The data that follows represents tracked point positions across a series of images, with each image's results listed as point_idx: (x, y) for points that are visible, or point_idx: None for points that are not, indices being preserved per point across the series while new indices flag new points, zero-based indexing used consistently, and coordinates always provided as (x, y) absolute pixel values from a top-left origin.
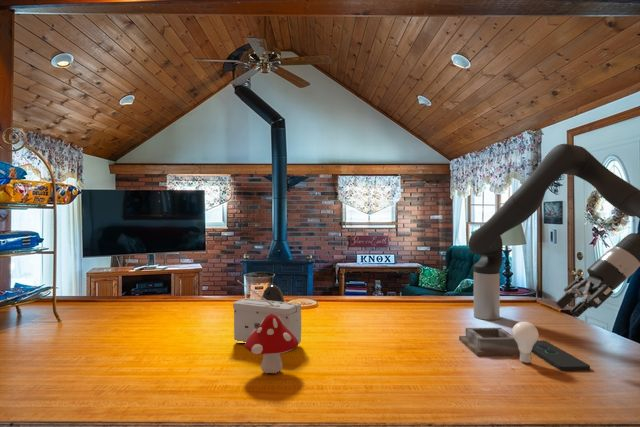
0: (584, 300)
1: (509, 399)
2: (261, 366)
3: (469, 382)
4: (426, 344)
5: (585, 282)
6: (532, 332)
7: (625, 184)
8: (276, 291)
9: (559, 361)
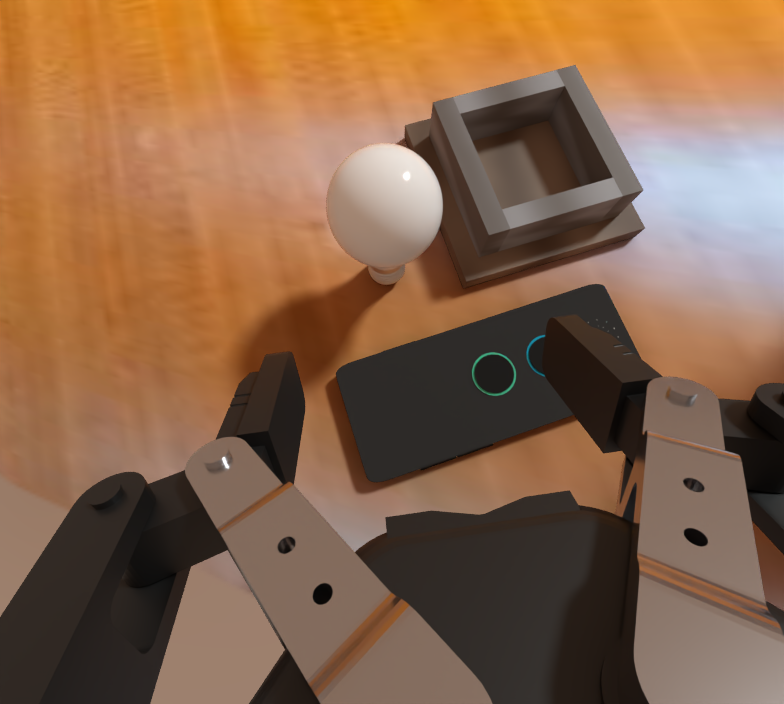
0: (191, 457)
1: (88, 185)
2: None
3: (183, 106)
4: (469, 8)
5: (634, 700)
6: (332, 216)
7: None
8: None
9: (392, 378)
